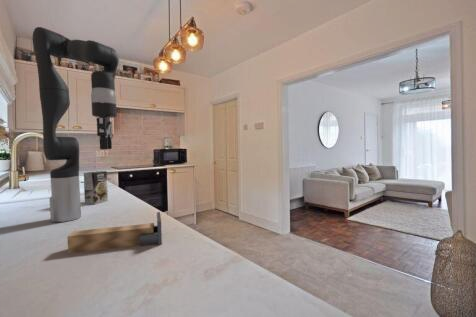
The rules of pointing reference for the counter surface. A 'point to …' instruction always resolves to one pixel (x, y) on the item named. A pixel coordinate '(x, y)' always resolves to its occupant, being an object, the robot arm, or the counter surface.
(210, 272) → the counter surface
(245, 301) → the counter surface
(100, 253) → the counter surface
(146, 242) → the cup bracket
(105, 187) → the coffee box
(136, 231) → the rail
